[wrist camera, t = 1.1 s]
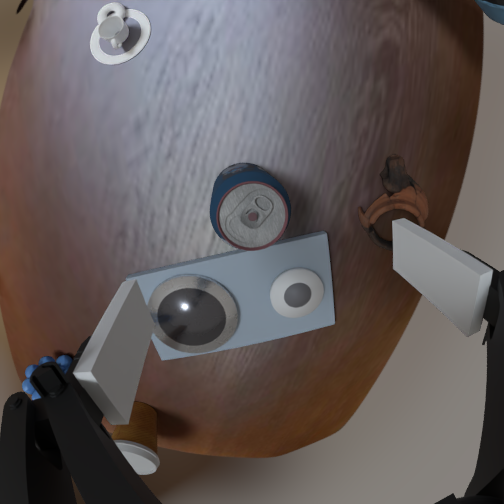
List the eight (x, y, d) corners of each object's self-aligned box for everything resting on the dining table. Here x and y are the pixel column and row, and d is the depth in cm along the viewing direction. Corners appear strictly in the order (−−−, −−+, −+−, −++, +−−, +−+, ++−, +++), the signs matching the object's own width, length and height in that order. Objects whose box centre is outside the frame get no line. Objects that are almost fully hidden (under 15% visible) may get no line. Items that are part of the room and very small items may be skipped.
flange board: (323, 230, 38) (329, 236, 35) (332, 319, 43) (337, 328, 41) (128, 274, 37) (123, 282, 35) (163, 355, 43) (161, 365, 40)
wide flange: (225, 264, 37) (225, 267, 36) (245, 340, 41) (246, 344, 40) (135, 284, 37) (133, 288, 36) (165, 354, 41) (164, 359, 40)
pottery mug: (422, 213, 39) (433, 252, 33) (362, 220, 43) (363, 260, 37) (415, 137, 32) (432, 168, 26) (345, 147, 36) (347, 179, 30)
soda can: (247, 230, 37) (259, 273, 26) (201, 197, 35) (191, 225, 24) (284, 186, 35) (313, 210, 24) (237, 149, 33) (245, 155, 22)
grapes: (43, 363, 42) (18, 408, 31) (40, 336, 40) (9, 382, 29) (99, 384, 44) (81, 435, 33) (99, 358, 42) (77, 412, 31)
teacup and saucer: (100, 8, 24) (89, -3, 20) (158, 3, 25) (152, -10, 22) (86, 67, 27) (72, 61, 23) (144, 64, 28) (135, 56, 25)
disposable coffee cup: (168, 428, 50) (163, 478, 38) (122, 422, 48) (111, 470, 37) (162, 398, 46) (154, 453, 35) (111, 392, 45) (95, 444, 34)
